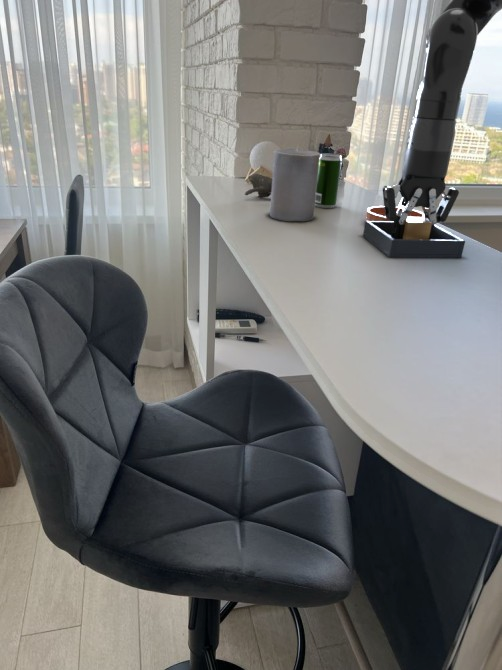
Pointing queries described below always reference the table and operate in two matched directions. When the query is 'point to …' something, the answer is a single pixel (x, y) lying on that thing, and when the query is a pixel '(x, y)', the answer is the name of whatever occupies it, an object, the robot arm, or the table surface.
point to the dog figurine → (260, 185)
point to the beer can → (328, 180)
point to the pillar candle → (294, 184)
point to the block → (417, 228)
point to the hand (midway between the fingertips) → (410, 243)
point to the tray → (413, 242)
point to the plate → (379, 214)
